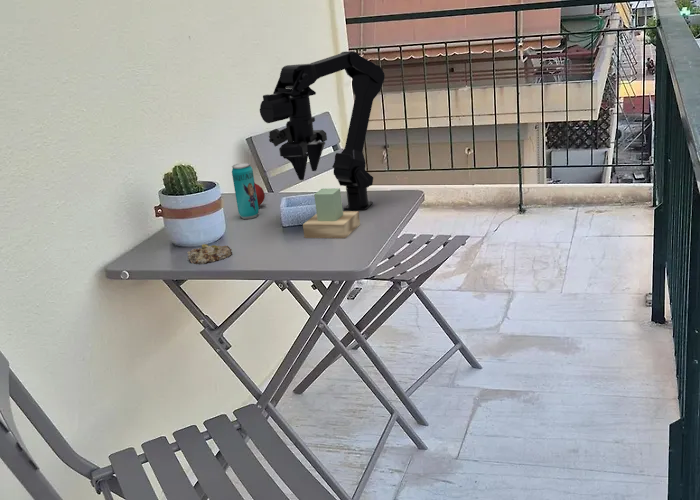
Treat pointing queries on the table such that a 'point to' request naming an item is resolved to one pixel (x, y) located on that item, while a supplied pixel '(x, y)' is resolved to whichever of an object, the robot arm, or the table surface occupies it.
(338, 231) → the oak box
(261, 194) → the onion
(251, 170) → the beverage can
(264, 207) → the table surface
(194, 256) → the mineral rock
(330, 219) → the sage block
